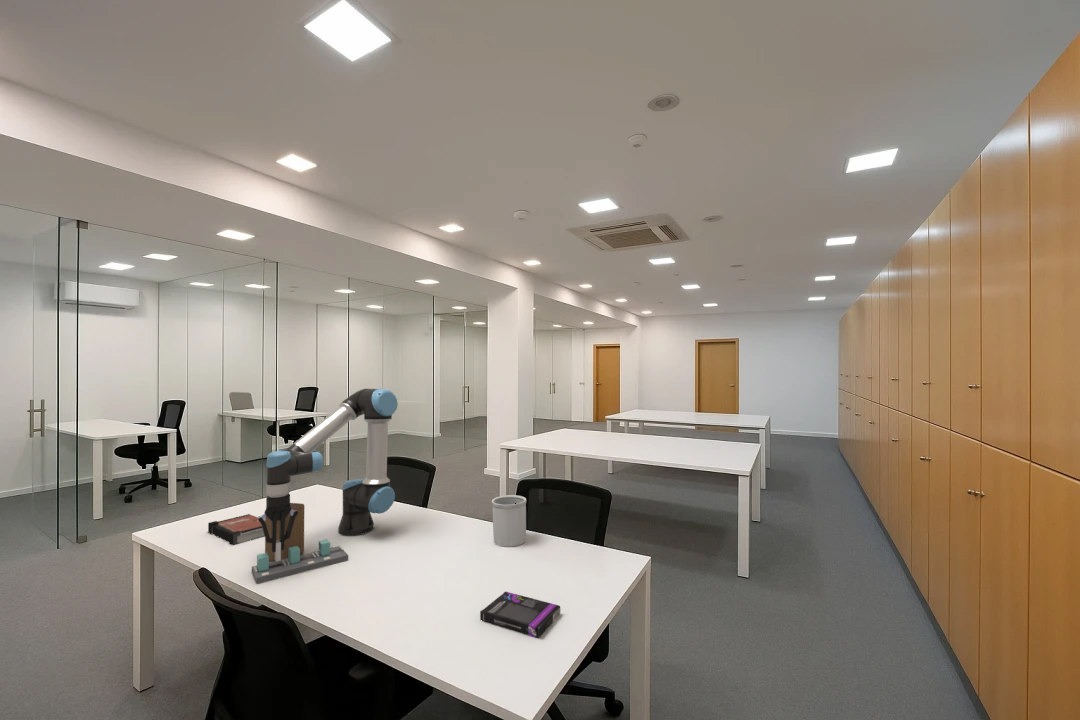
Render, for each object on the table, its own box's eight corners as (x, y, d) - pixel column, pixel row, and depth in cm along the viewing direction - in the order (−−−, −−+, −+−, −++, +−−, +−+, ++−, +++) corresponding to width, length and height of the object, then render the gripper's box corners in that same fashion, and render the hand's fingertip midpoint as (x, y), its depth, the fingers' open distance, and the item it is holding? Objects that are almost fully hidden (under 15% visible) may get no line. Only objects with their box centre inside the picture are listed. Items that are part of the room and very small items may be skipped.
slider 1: (266, 565, 163) (266, 552, 163) (268, 569, 159) (268, 556, 159) (256, 567, 161) (257, 554, 161) (258, 571, 157) (258, 558, 157)
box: (560, 617, 133) (505, 600, 142) (560, 605, 133) (505, 589, 142) (538, 641, 121) (479, 621, 130) (538, 628, 121) (479, 609, 130)
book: (277, 534, 202) (277, 522, 202) (233, 546, 187) (233, 534, 188) (250, 523, 217) (250, 512, 217) (208, 534, 202) (208, 522, 202)
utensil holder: (485, 544, 187) (485, 502, 187) (501, 532, 201) (501, 493, 201) (517, 549, 181) (517, 506, 182) (532, 537, 195) (531, 496, 195)
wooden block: (286, 564, 169) (286, 510, 169) (263, 561, 171) (264, 509, 171) (305, 553, 179) (305, 502, 179) (283, 551, 181) (284, 501, 181)
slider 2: (297, 557, 169) (297, 545, 169) (299, 561, 166) (300, 549, 166) (288, 560, 167) (288, 547, 167) (290, 563, 164) (290, 551, 164)
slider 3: (326, 550, 176) (327, 539, 176) (330, 554, 172) (330, 542, 172) (318, 552, 174) (318, 540, 174) (321, 556, 170) (321, 544, 170)
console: (339, 550, 181) (339, 544, 181) (348, 560, 172) (348, 553, 172) (251, 572, 162) (251, 564, 162) (256, 584, 153) (256, 576, 153)
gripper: (296, 489, 171) (295, 552, 170) (255, 495, 162) (255, 561, 162) (300, 493, 165) (299, 558, 164) (259, 500, 157) (258, 568, 156)
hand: (277, 559), depth 163 cm, fingers closed
